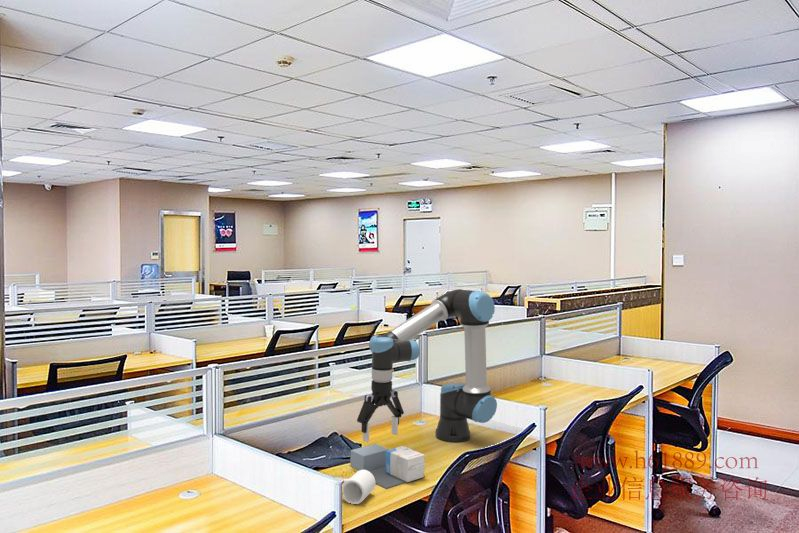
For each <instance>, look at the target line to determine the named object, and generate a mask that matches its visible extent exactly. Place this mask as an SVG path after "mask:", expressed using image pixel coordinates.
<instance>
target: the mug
mask: <svg viewBox="0 0 799 533" xmlns="http://www.w3.org/2000/svg"><path fill="white" fill-rule="evenodd" d="M343 479H344V483H342V484H343V485H342V486H343V495H342V498H343V499H344V500H345V501H346V502H347V503H348V504H350V503H351V504H350V505H353V504H357V505H359V504H361V503H362V502H363V501H364V500H365V499H366V498H367V497H368V496H369V495H370V494H371V493H372V492H373V491H374V490H375V487H376V484H375V478H374V476H373V475H372V473H371V472H369V471H367V470H357V471H356V472H355V473H354V474H353V475H352V476H350V477H349V478H343Z"/></svg>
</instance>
